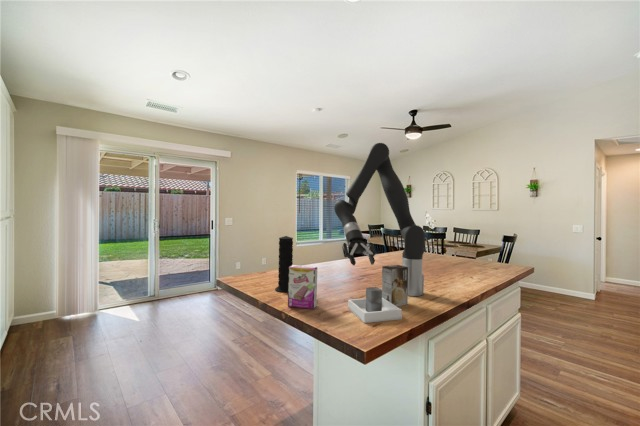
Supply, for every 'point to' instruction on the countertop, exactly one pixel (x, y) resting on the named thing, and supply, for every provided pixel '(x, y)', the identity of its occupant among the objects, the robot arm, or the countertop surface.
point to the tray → (386, 314)
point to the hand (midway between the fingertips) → (363, 264)
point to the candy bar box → (302, 287)
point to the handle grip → (284, 262)
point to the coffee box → (395, 284)
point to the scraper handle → (373, 299)
